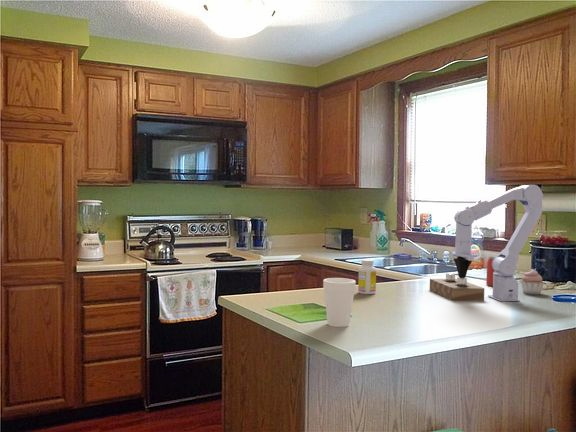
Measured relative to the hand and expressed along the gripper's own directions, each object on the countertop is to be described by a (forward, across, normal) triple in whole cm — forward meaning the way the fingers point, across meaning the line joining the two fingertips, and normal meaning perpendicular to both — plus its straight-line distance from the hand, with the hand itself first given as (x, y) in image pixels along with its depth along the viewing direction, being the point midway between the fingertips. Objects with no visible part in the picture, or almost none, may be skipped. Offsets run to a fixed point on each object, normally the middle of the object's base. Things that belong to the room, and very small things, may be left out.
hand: (462, 277), depth 211 cm
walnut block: (+8, -5, 0) cm, 9 cm away
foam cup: (+8, +39, -57) cm, 70 cm away
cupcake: (+8, -7, +33) cm, 35 cm away
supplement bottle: (+8, -10, -34) cm, 36 cm away
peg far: (+4, -10, 0) cm, 11 cm away
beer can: (+8, -25, +27) cm, 38 cm away
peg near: (+4, 0, 0) cm, 4 cm away
